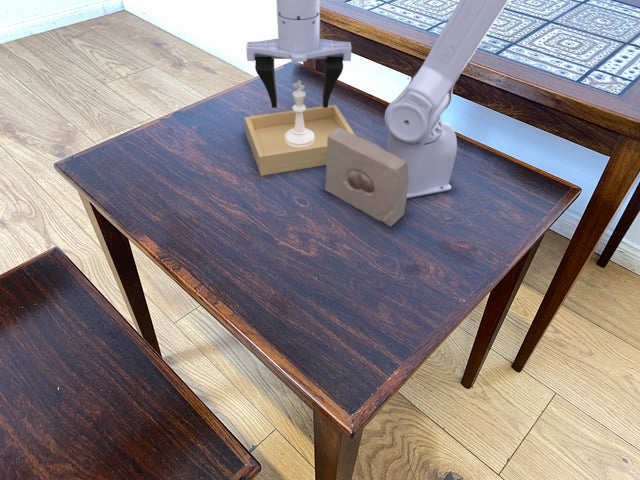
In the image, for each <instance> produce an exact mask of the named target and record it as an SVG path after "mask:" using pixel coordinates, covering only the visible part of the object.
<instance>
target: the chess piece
mask: <svg viewBox="0 0 640 480" xmlns="http://www.w3.org/2000/svg"><path fill="white" fill-rule="evenodd" d="M292 87H293V88H296V90H294V91H292V92H291V93H292V94H291V95H292V98H293V100H294V103H295V104H293V105H292V108H291V109H292V110H294V111H296V119H295V127H294V128H293V129H290V130H288V131H287V132H286V133H285V138H284V140H285V142H286V144H288V145H289V146H292V147H296V148H300V147H306V146H310V145H312V144H313V143H314V141H315V135H314V133H313V132H312V131H311V130H309V129H307V128H305V126H304V120H303V111H305V110H306V108H307V106H306V105H305V104H304V101H305V98H306V96H307V93H306V91H305V88H306V86H305V85H304V84H302V80H300V79H298V80H296V82H293V84H292Z"/></svg>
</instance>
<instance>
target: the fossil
mask: <svg viewBox="0 0 640 480" xmlns="http://www.w3.org/2000/svg"><path fill="white" fill-rule="evenodd" d="M325 166H326V167H325V182H324V191H326V192H327V193H329V194H331V195H333V196H335V197H336V198H338V199H340V201H343V202H345V203H346V204H348V205H350V206H352V207H354V208H355V209H356V210H358V211H359V210H360V211H362V213H364V214H366V215H368V216H370V217H372V219H374V220H377V221H379V222H382V223H383V224H385V225H386V226H387V227H390V228H392V227H393V226H394V225H395V224H396V223H397V222H398V221H399V220H401V219H402V218H403V217H404V216H405V213H406V205H407V199H408V198H407V188H408V181H409V174H408V166H407V162H406V161H405V160H403V159H400V158H399V157H397V156H395V155H394V154H391V153H389V152H387V151H386V150H385V149H384V148H382V147H380V146H379V145H377V144H375V143H373V142H371V141H369V140H367V139H365V138H362V137H361V136H357V135H356V134H355V135H353V134H352V133H349V132H348V131H346V130H343V129H341V128H337V129H336V130H334V131H333V132H332V133H331V134H329V135H328V140H327V161H326V165H325ZM406 198H407V199H406Z"/></svg>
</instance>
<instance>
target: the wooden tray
mask: <svg viewBox="0 0 640 480" xmlns="http://www.w3.org/2000/svg"><path fill="white" fill-rule="evenodd" d="M295 119H296V111H294V110H293V109H292V110H285V111H279V112H272V113H271V112H270V113H264V114H256V115H250V116H244V126H245V135H246V138H247V141H248V145H249V147H250V150H251V153H252V155H253V159H254V161H255V164H256V166H257V169H258V172H259V174H260V175H259V176H261V177H262V176H269V175H275V174H280V173H281V174H282V173H286V172H292V171H298V170H304V169H310V168H317V167H322V166H326V161H327V140H328V135H329V134H331V133H332V132H333V131H334V130H336V129H337V128H341V129H343V130H346V131H348V132H349V133H352V134H353V135H356V134H355V132H354V130H353V128H351V126H350V124H349V123H348V122H347V119H346V118H345V117H344V115H343V114H342V111H341V110H340V109H339V108H338V106H337V104H328V107H327V108H323V105H321V106H314V107H308V108H307V107H306V110H305V111H303V120H304V126H305V128H307V129H309V130H311V131H312V132H313V133H314V135H315V141H314V143H313V144H312V145H310V146H306V147H300V148H296V147H292V146H289V145H288V144H286V142H285V140H284V138H285V133H286V132H287V131H288V130H290V129H293V128H294V127H295Z"/></svg>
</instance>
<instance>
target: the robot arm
mask: <svg viewBox="0 0 640 480" xmlns="http://www.w3.org/2000/svg"><path fill="white" fill-rule="evenodd" d="M509 1H510V0H458V2H457V5H456V6H455V8H454V9H453V11H452V13H451V15H450V16H449V18H448V20H447V22H446V23H445V25H444V27H443V29H442V31H441V32H440V34H439V36H438V38H437V39H436V41H435V43H434V44H433V46H432V48H431V50H430V51H429V53H428V55H427V56H426V58H425V60H424V62H423V63H422V65H421V67H420V68H419V69H418V71H417V72H416V73H415V75H413V76H412V78H411V80H410V81H409V83H408V84H407V86H406V87H404V89H403V90H402V91H401V93H400V94H399V95H398V96H397V97H396V98H395V99H394V100H392V101H391V102H390V103H389V104H388V106H387V107H386V109H385V112H384V123H385V126H386V129H387V130H388V133H387V141H386V142H387V143H386V150H385V151H387V152H389V153H391V154H394V155H395V156H397V157H399V158H400V159H403V160H405V161H406V162H407V166H408V174H409V181H408V188H407V198H406V200H408V199H411V198H417V197H422V196H427V195H433V194H437V193H438V194H439V193H443V192H449V191H451V190H452V186H451V184H450V181H451V177H452V173H453V170H454V165H455V161H456V157H457V153H458V139H457V135H456V133H455V130H454V128H453V127H452V126H451V124H450V123H448V122H443V121H442V118H441V115H442V114H443V113H444V112H445V110H447V109H448V107H449V106H450V104H451V102H452V100H453V90H454V86H455V85H456V82H457V81H458V80H459V78H460V76H461V74H462V73H463V71H464V69H465V68H466V66H467V65H468V63H469V62H470V60H471V59H472V57H473V56H474V54H475V53H476V51H477V49H478V48H479V46H480V45H481V43H483V40H484V39H485V37H486V36H487V34H488V33H489V31H490V30H491V28H492V27H493V26H494V24H495V22H496V21H497V19H498V17H499V16H500V15H501V13H502V12H503V10H504V8H505V7H506V6H507V4H508V3H509ZM276 18H277V19H276V20H277V21H276V22H277V38H272V39H265V40H257V41H246V47H245V51H246V60H247V62H254V69H255V71H256V74H257V75H258V77H259V78H260V80H261V82H262V83H263V85H264V87H265V89H266V91H267V95H268V97H269V100H270V104H271V108H272V109H277V106H278V94H277V93H278V92H277V85H276V76H275V74H276V73H275V60H291V62H294V63H305V62H307V61H308V60H323V61H324V62H323V63H324V64H323V65H324V67H323V68H324V70H323V72H324V73H323V87H322V106H323V108H327V107H328V105H329V102H330V98H331V95H332V92H333V89H334V87H335V85H336V83H337V81H338V79H339V78H340V76H341V75H342V73H343V70H344V62H351V60H352V43H351V42H350V41H339V40H334V39H333V40H332V39H325V38H320V36H321V35H320V34H321V30H320V29H321V0H276Z"/></svg>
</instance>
